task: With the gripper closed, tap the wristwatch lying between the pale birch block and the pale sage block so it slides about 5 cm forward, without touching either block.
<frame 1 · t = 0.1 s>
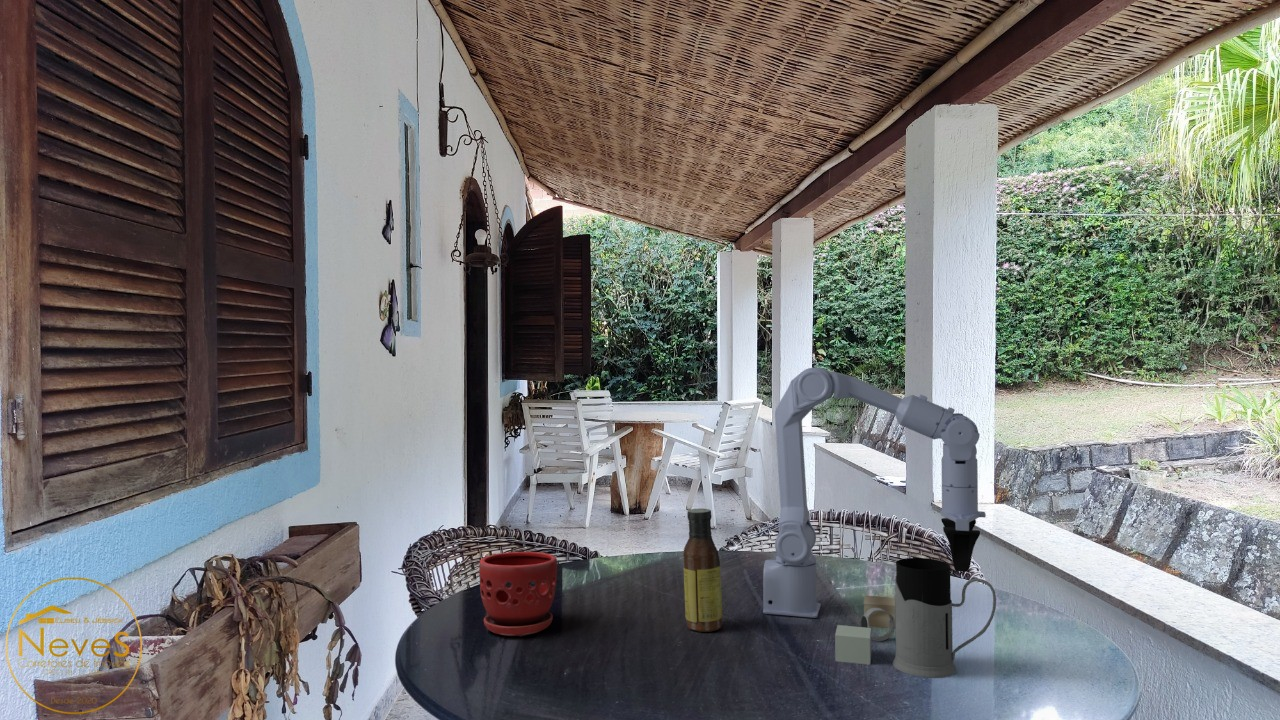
hand: (960, 565, 136), 10 cm above the table, fingers open, 7 cm apart
glass holder: (943, 671, 116), on the table
sauce bottle: (703, 628, 136), on the table
plant pot: (518, 629, 136), on the table
sage block: (853, 658, 121), on the table
wristwatch: (878, 641, 129), on the table
birch block: (879, 624, 137), on the table
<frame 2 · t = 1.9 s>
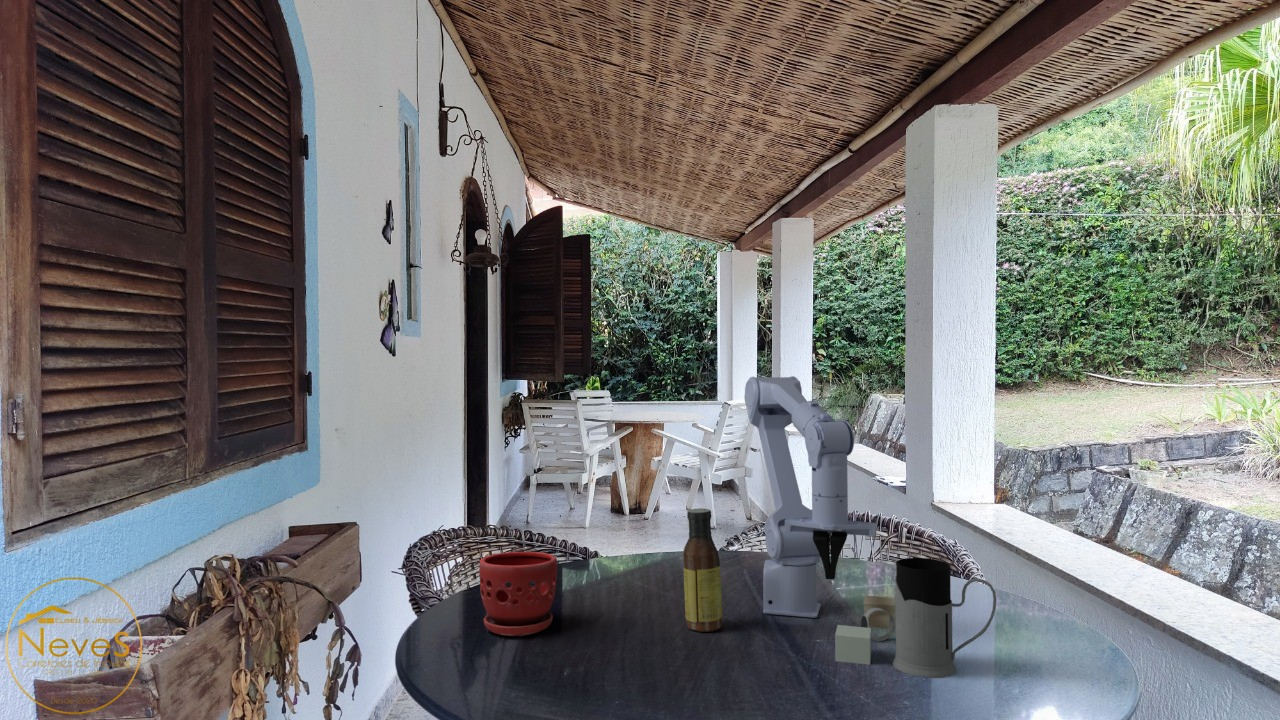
hand: (830, 577, 131), 9 cm above the table, fingers closed
nothing on the table moved.
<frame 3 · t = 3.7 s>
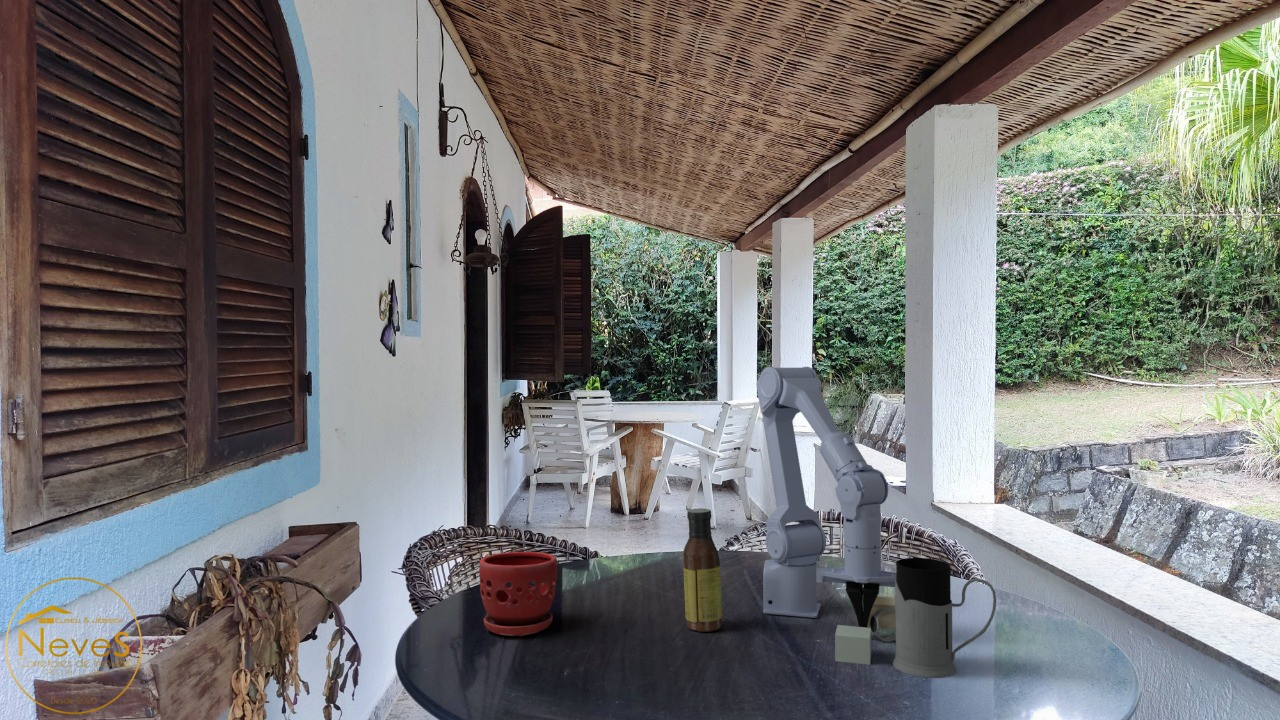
hand: (863, 629, 130), 1 cm above the table, fingers closed
wristwatch: (888, 641, 128), on the table, touching gripper
everything else where it was.
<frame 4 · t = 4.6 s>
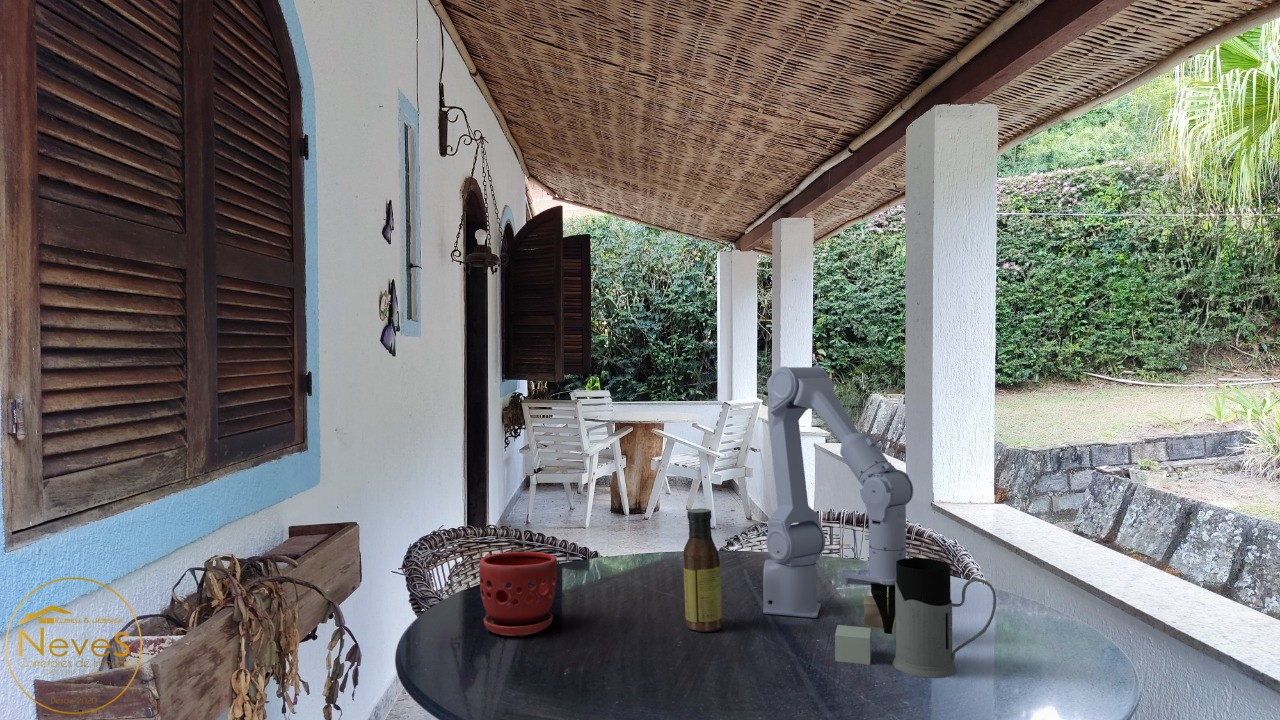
hand: (888, 632, 128), 1 cm above the table, fingers closed
wristwatch: (913, 643, 127), on the table, touching gripper
everything else where it was.
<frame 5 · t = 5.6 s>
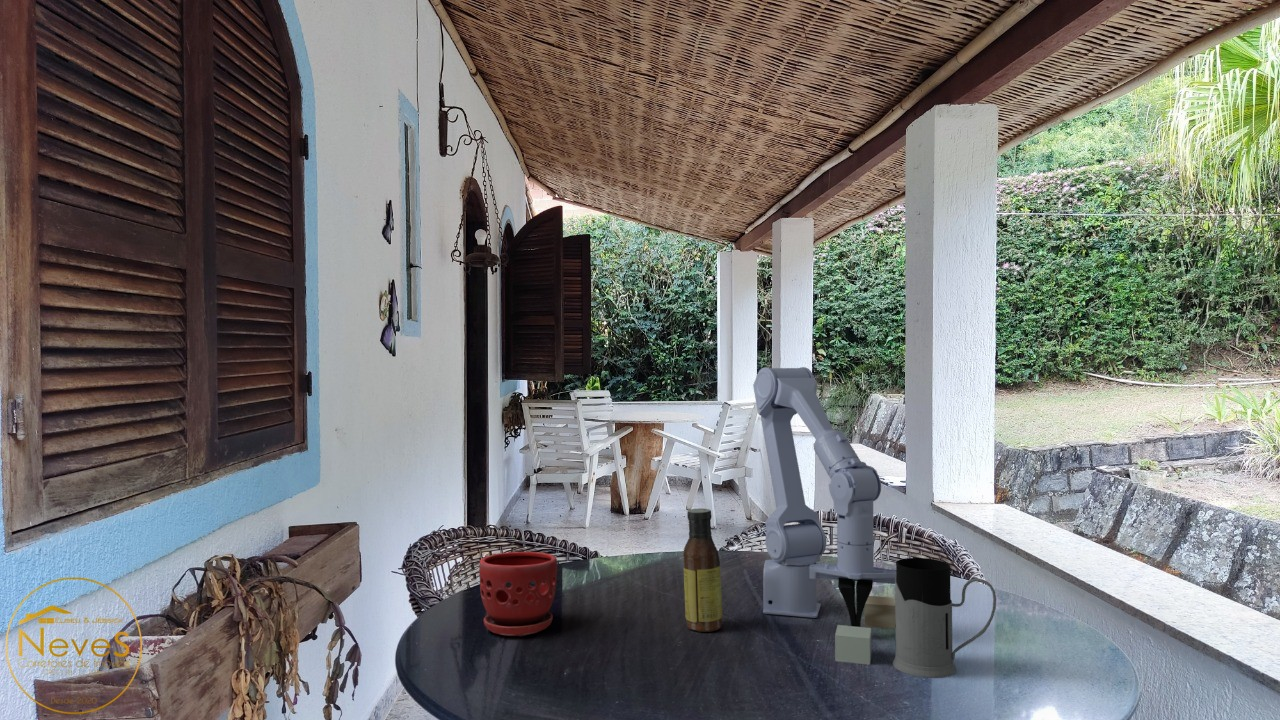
hand: (855, 625, 130), 2 cm above the table, fingers closed
wristwatch: (913, 644, 127), on the table
everything else where it was.
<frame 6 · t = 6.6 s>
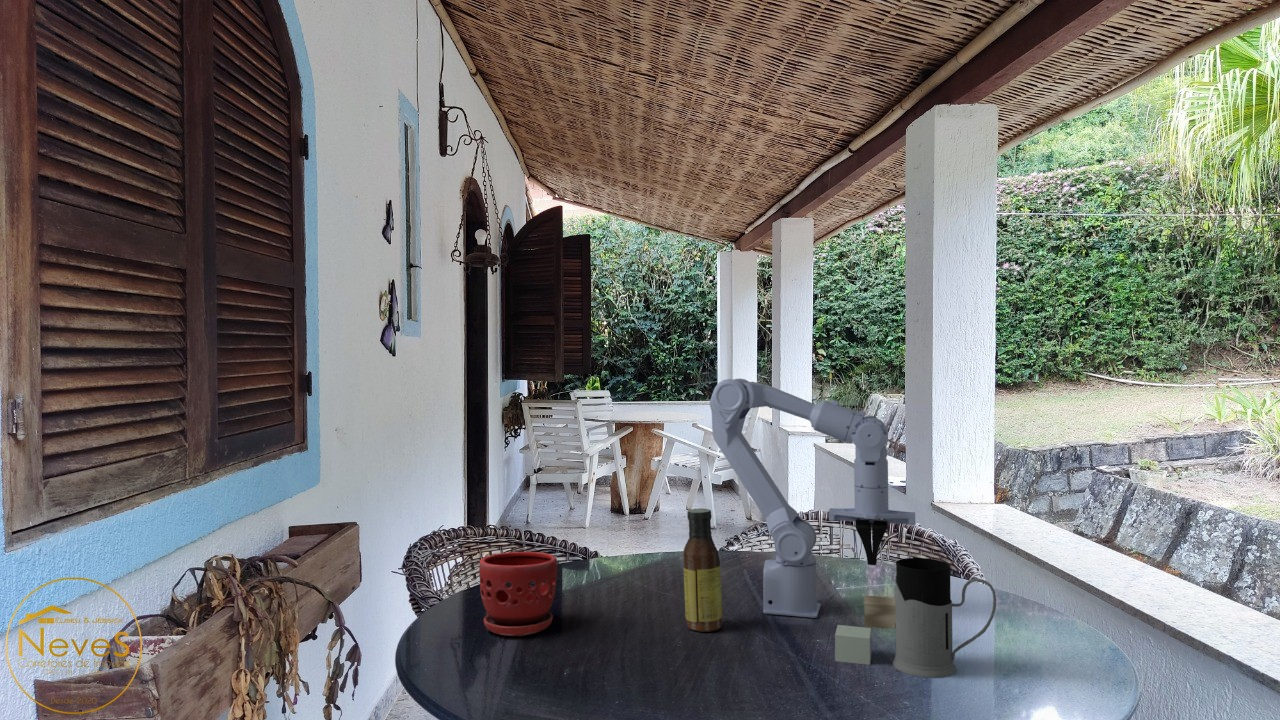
hand: (872, 563, 140), 9 cm above the table, fingers closed
nothing on the table moved.
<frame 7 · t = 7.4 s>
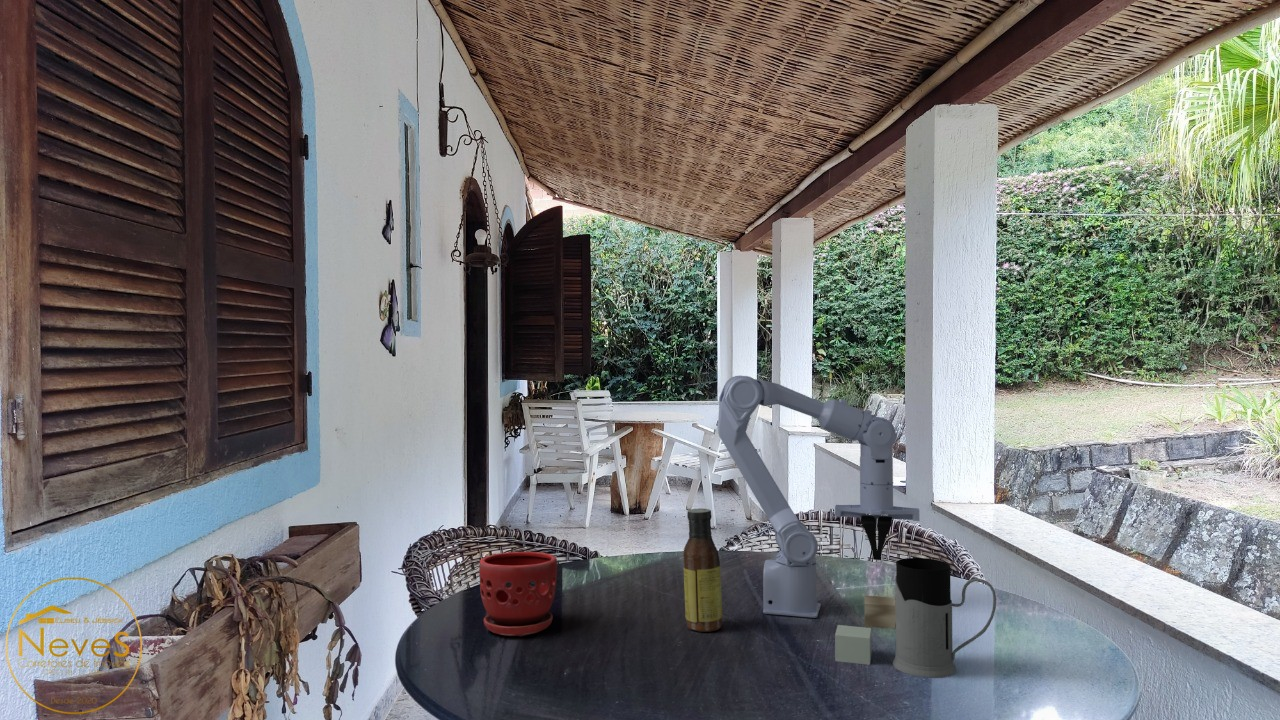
hand: (877, 558, 144), 9 cm above the table, fingers closed
nothing on the table moved.
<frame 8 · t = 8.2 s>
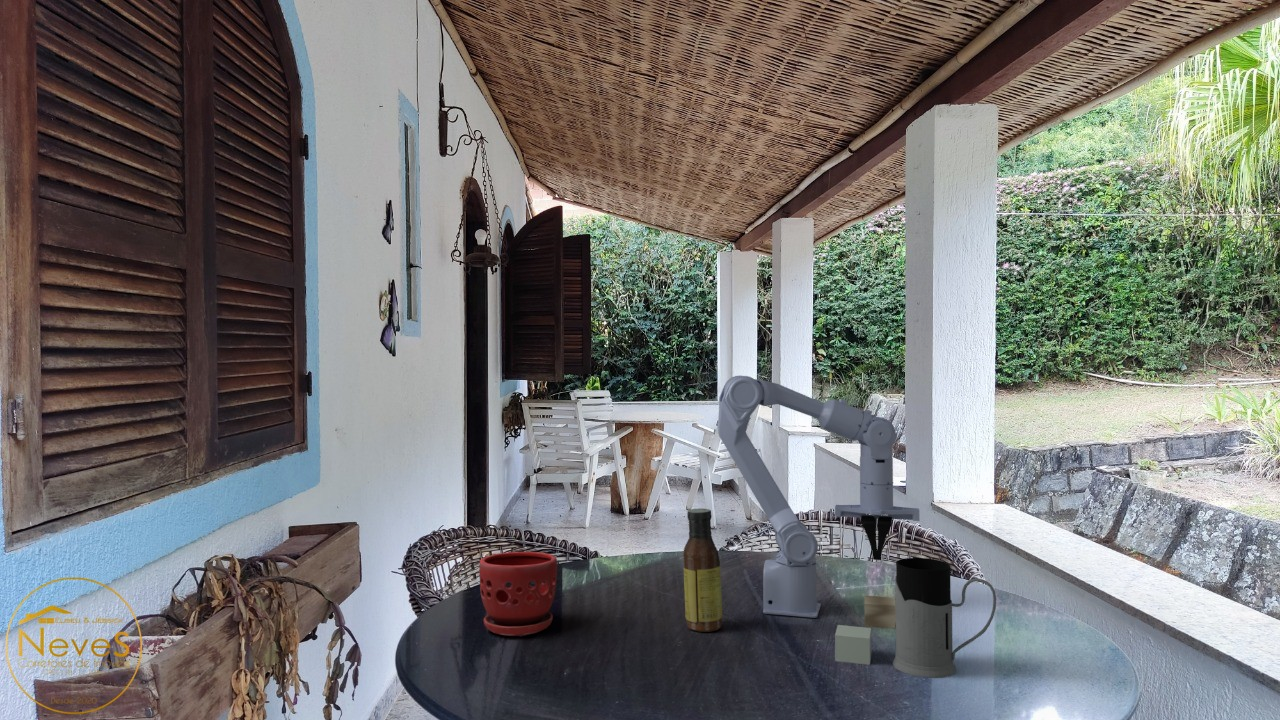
hand: (877, 558, 144), 9 cm above the table, fingers closed
nothing on the table moved.
at the end: wristwatch moved 5.3 cm from its start; birch block moved 0.2 cm from its start; sage block moved 0.2 cm from its start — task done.
